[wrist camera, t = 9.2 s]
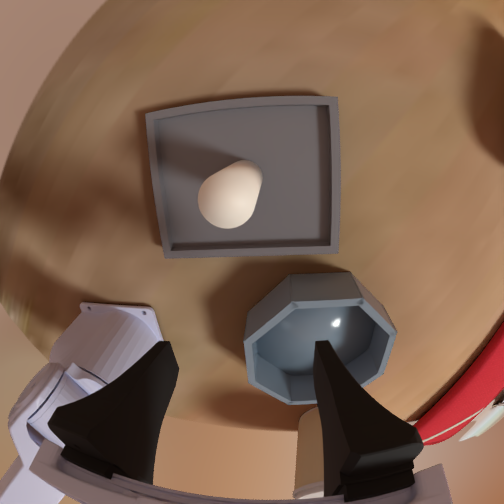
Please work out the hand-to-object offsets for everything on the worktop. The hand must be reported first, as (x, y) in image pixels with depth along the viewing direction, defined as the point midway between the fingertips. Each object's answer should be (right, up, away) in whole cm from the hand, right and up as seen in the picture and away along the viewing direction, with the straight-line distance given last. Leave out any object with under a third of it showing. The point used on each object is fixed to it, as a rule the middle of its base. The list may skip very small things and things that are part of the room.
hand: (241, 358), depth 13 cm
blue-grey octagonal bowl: (+6, -2, +11) cm, 13 cm away
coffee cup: (+10, -17, +18) cm, 26 cm away
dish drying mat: (+39, -10, +13) cm, 42 cm away
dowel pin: (0, +10, +6) cm, 12 cm away
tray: (0, +11, +6) cm, 12 cm away
